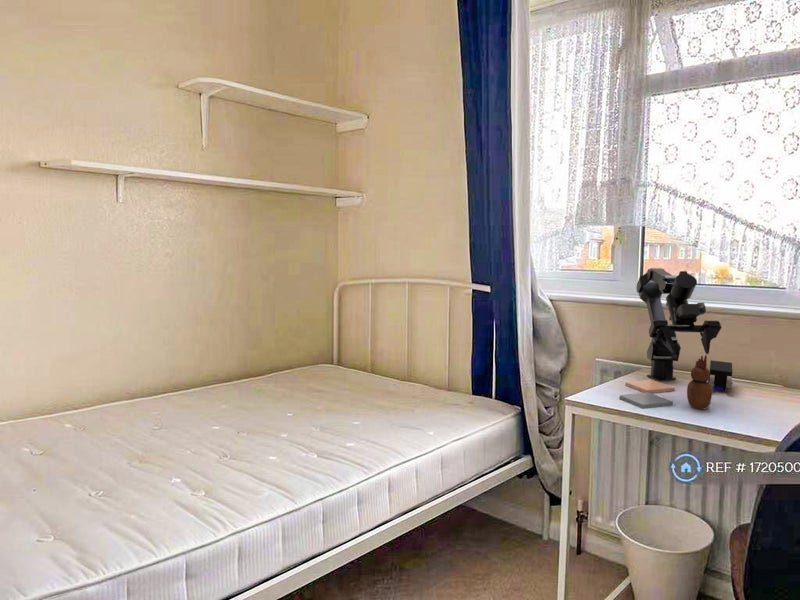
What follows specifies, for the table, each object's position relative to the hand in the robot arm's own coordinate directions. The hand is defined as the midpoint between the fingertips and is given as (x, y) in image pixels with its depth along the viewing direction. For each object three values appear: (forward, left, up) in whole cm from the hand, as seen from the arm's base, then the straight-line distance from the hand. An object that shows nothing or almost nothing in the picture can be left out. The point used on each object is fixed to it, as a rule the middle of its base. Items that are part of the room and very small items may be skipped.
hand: (690, 353), depth 171 cm
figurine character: (-7, +18, -14) cm, 24 cm away
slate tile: (-2, -13, -14) cm, 19 cm away
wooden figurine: (+7, -3, -14) cm, 16 cm away
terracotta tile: (-14, -2, -14) cm, 20 cm away
